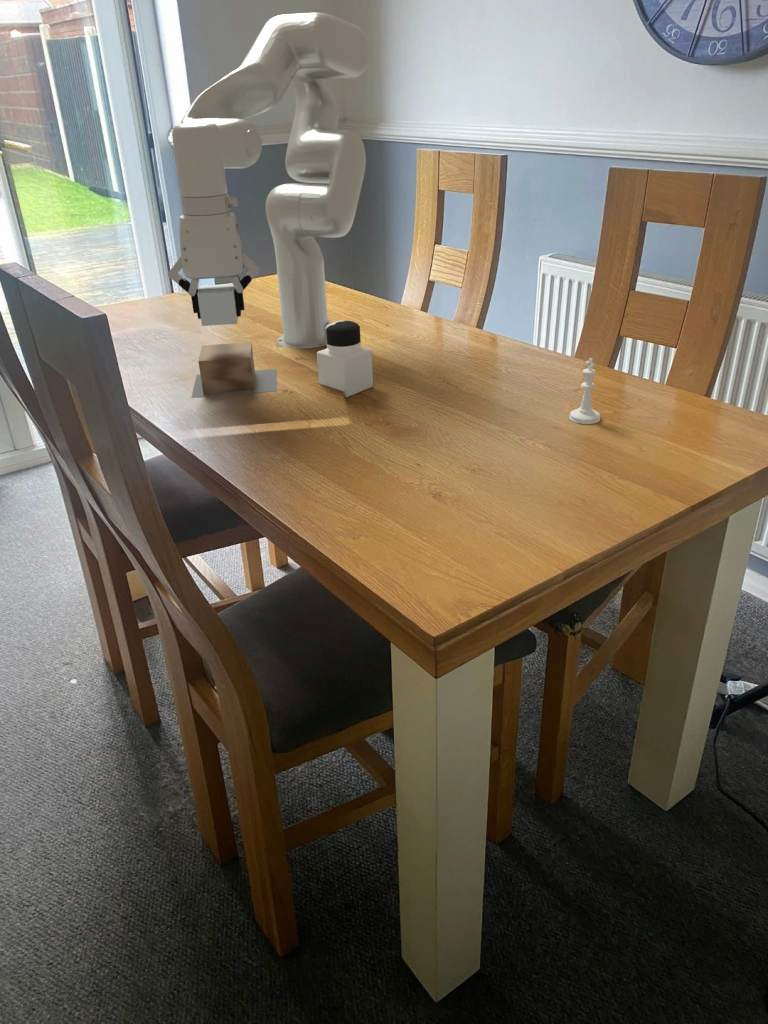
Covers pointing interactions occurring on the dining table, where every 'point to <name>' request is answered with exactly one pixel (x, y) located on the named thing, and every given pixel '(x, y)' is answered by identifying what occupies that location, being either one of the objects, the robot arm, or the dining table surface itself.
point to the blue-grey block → (217, 304)
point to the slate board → (263, 383)
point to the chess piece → (586, 399)
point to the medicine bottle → (345, 359)
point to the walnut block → (227, 367)
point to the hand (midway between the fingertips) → (219, 314)
